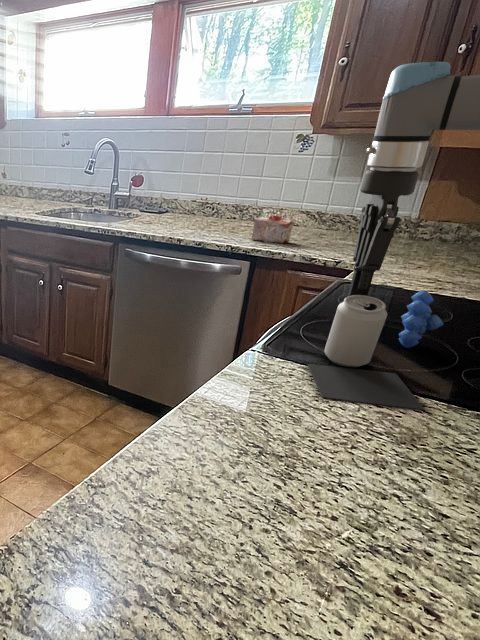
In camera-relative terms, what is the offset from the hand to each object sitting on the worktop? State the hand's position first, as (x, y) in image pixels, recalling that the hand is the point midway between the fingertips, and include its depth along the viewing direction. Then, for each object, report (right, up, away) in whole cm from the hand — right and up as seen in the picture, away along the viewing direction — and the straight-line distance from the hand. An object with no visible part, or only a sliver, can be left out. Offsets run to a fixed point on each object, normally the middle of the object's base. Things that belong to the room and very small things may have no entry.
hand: (355, 304), depth 97 cm
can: (-1, -10, +2) cm, 10 cm away
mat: (-4, -15, -7) cm, 17 cm away
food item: (+39, +36, +106) cm, 119 cm away
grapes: (+16, -8, +7) cm, 20 cm away
